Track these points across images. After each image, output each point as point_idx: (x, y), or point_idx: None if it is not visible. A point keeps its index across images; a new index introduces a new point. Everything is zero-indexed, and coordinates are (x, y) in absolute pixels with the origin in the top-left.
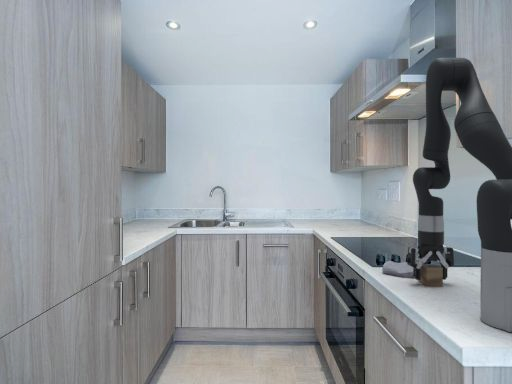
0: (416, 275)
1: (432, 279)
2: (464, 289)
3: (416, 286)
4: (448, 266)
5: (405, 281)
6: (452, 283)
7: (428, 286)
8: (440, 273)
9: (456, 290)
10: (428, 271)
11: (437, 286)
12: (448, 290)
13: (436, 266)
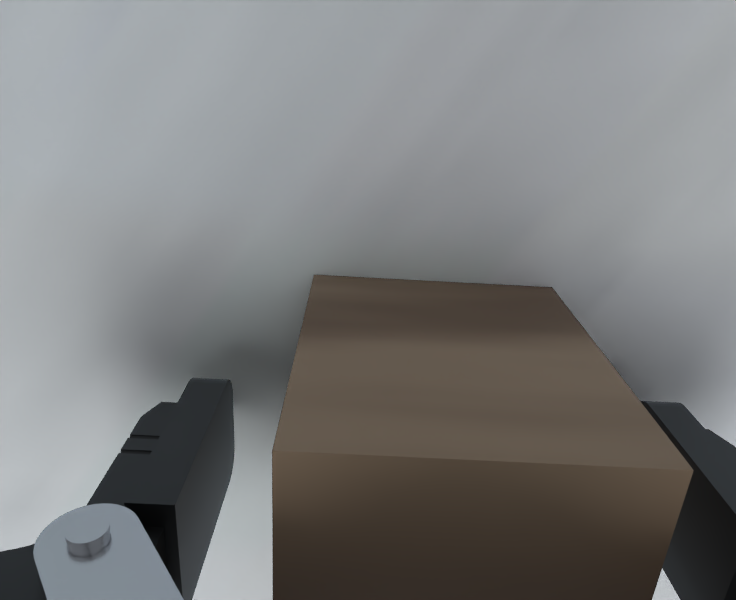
0: (734, 460)
1: (498, 332)
2: (54, 103)
3: (685, 332)
4: (44, 534)
5: None
6: (72, 388)
7: (537, 291)
8: (340, 380)
9: (219, 72)
10: (632, 421)
11: (394, 282)
12: (351, 90)
13: (334, 579)
